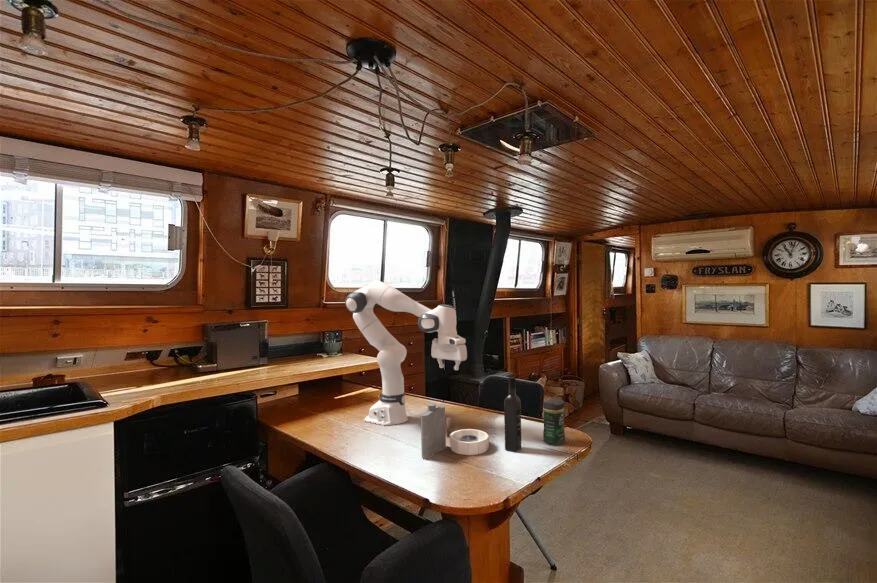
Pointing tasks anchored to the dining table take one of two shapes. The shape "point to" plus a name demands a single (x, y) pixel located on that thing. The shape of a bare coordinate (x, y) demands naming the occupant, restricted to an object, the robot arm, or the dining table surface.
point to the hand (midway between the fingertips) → (449, 368)
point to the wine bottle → (512, 418)
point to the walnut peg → (450, 425)
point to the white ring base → (469, 447)
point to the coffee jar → (554, 421)
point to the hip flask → (433, 430)
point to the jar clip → (469, 438)
